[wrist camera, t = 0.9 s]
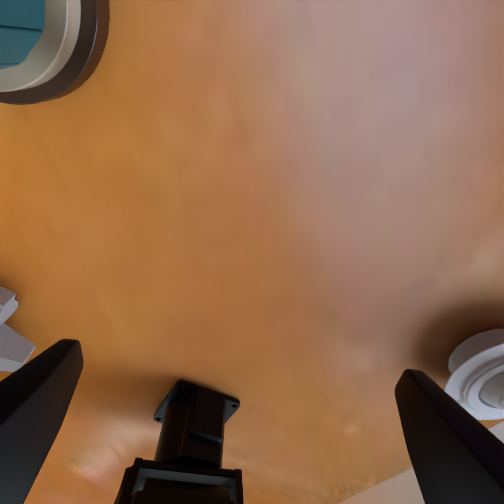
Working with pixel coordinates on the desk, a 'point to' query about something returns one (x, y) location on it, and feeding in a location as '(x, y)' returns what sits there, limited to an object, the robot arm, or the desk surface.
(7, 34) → the teal cup
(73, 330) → the desk surface
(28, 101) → the stack
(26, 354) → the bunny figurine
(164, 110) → the desk surface
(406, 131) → the desk surface
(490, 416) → the white stemmed stand
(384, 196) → the desk surface
